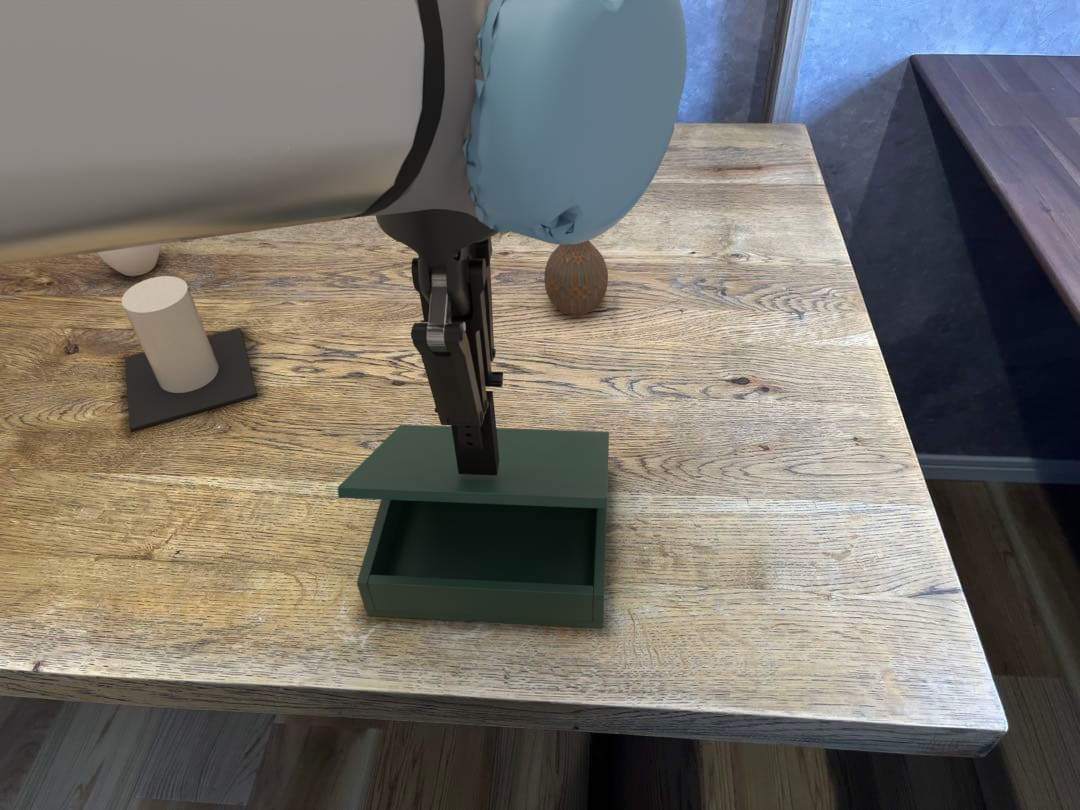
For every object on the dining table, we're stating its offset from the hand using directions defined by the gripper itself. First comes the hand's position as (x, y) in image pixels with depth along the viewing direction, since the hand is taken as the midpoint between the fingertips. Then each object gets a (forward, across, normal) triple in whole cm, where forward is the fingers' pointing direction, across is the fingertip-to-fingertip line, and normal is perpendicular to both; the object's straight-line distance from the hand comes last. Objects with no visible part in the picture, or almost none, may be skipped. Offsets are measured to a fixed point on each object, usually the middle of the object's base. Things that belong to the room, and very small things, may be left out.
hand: (479, 466), depth 57 cm
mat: (+12, -22, -34) cm, 42 cm away
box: (+12, -3, 0) cm, 12 cm away
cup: (+12, -43, -50) cm, 67 cm away
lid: (+3, -3, 0) cm, 5 cm away
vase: (+12, -36, +5) cm, 38 cm away
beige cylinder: (+11, -22, -34) cm, 42 cm away
